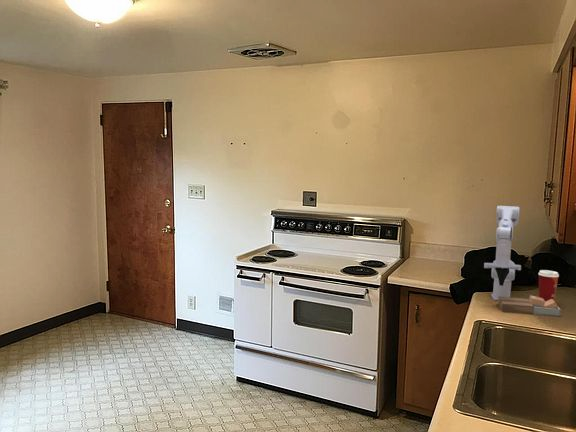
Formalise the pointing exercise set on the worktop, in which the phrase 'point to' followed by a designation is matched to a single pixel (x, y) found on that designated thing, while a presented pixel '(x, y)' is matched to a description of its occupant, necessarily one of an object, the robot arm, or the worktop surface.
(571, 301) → the worktop surface
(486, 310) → the worktop surface
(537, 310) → the tray
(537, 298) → the tile
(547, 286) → the coffee cup
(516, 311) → the board
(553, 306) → the tile
